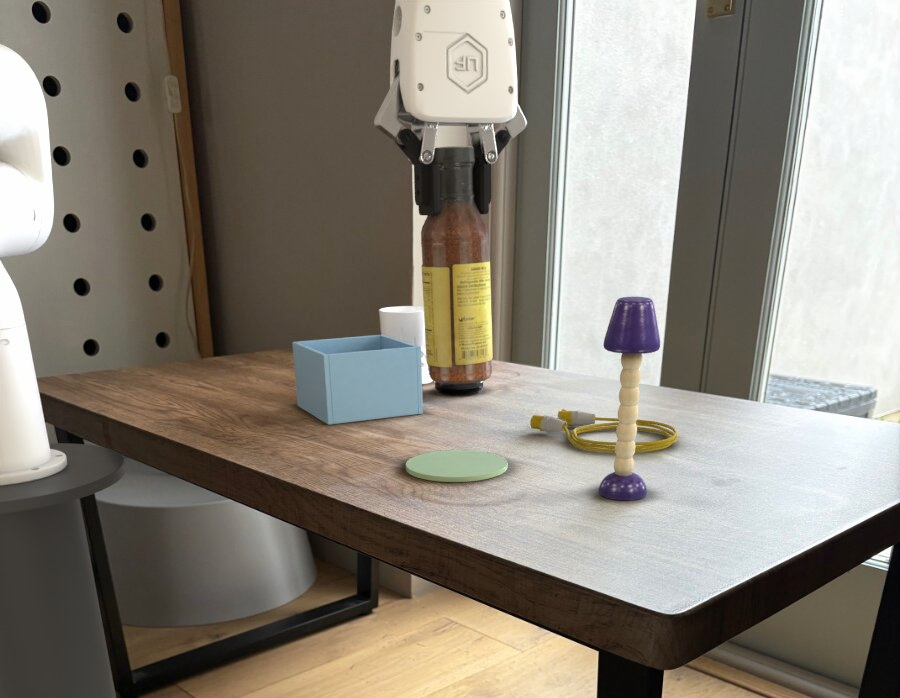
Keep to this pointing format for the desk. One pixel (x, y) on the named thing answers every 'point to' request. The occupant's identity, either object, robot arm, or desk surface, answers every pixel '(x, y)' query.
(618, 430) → the toy lamp
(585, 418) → the extension cord
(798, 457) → the desk surface
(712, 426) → the desk surface
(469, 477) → the mat
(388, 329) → the white cup
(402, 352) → the case
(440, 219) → the sauce bottle
